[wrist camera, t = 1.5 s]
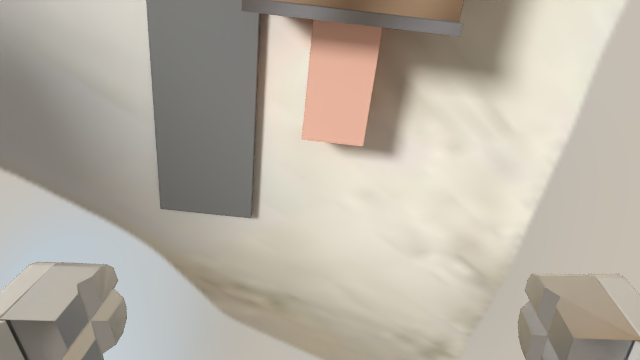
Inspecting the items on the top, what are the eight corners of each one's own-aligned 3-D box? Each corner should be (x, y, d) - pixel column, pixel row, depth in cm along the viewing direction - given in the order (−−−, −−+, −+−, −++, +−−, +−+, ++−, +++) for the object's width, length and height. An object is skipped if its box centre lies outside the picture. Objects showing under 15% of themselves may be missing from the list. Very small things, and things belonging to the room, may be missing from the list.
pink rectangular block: (304, 121, 31) (301, 139, 28) (327, -109, 25) (326, -119, 22) (360, 127, 31) (363, 146, 28) (396, -101, 25) (405, -109, 22)
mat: (163, 204, 34) (160, 208, 34) (148, -17, 27) (145, -16, 27) (251, 214, 34) (250, 218, 34) (260, -3, 27) (259, -3, 27)
